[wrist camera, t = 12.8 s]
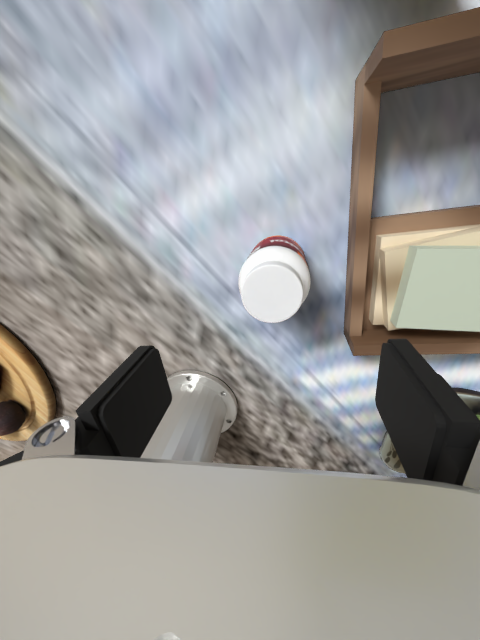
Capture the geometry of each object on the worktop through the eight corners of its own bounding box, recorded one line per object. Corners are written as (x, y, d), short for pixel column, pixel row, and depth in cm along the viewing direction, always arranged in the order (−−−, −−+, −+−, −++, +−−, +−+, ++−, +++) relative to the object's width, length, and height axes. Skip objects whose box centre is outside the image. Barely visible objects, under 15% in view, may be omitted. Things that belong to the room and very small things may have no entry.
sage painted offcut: (490, 325, 23) (502, 332, 22) (390, 320, 25) (395, 327, 24) (525, 245, 20) (542, 248, 19) (409, 245, 22) (417, 248, 20)
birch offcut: (484, 313, 26) (495, 320, 25) (368, 319, 28) (372, 324, 27) (512, 220, 22) (526, 222, 21) (376, 235, 24) (381, 237, 23)
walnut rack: (492, 327, 28) (551, 365, 22) (343, 333, 31) (358, 366, 25) (588, 28, 18) (749, -62, 12) (355, 80, 21) (384, 31, 15)
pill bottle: (317, 256, 28) (333, 289, 18) (281, 298, 30) (279, 346, 21) (271, 222, 27) (263, 236, 17) (239, 268, 30) (216, 302, 20)
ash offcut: (493, 307, 24) (505, 313, 23) (383, 323, 27) (388, 330, 25) (504, 220, 21) (519, 222, 20) (379, 248, 24) (384, 251, 22)
